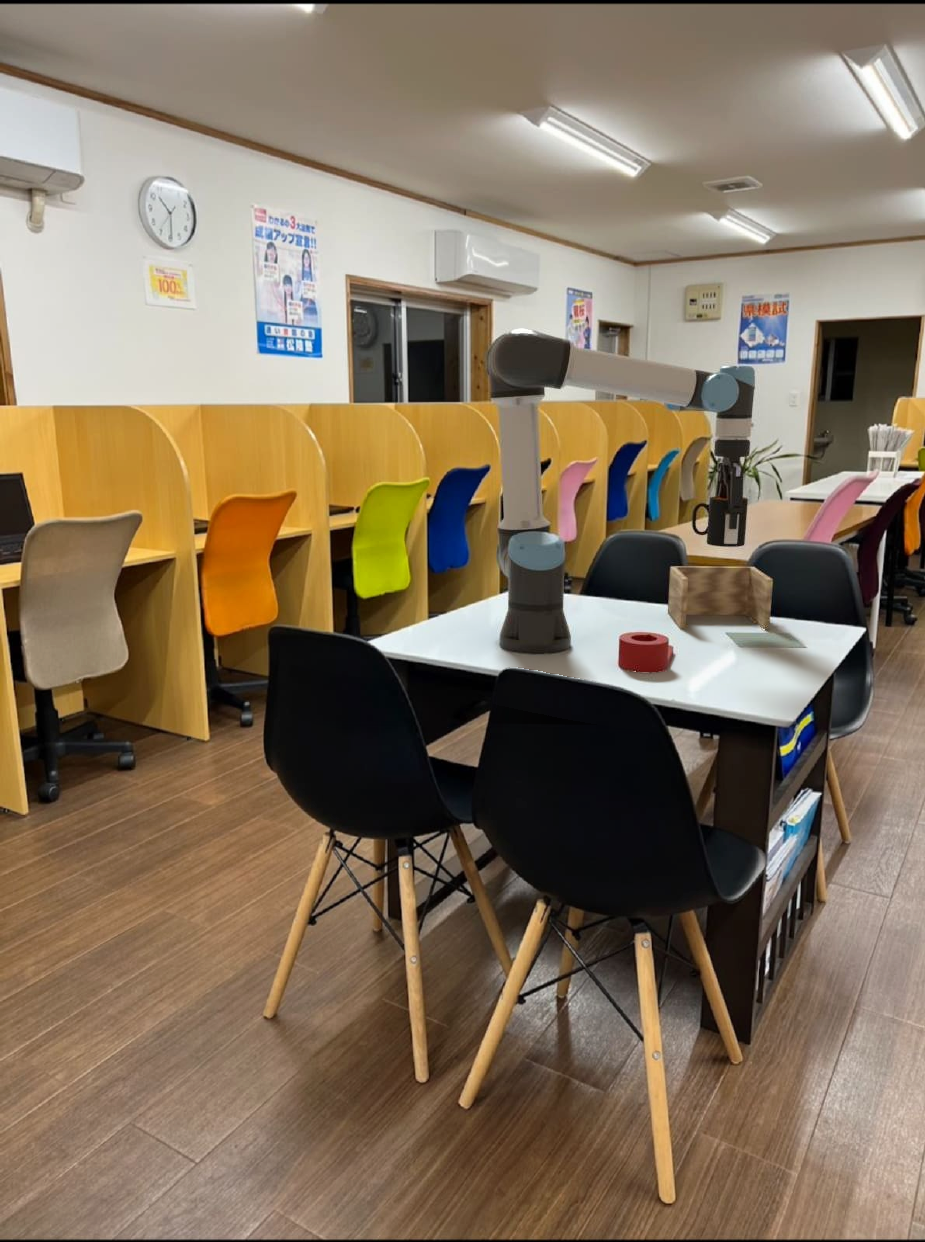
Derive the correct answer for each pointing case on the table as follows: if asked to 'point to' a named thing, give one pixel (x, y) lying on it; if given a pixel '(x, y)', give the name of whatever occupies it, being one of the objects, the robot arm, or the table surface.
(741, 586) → the cubby
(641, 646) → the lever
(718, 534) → the mug
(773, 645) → the mat
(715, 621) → the table surface
